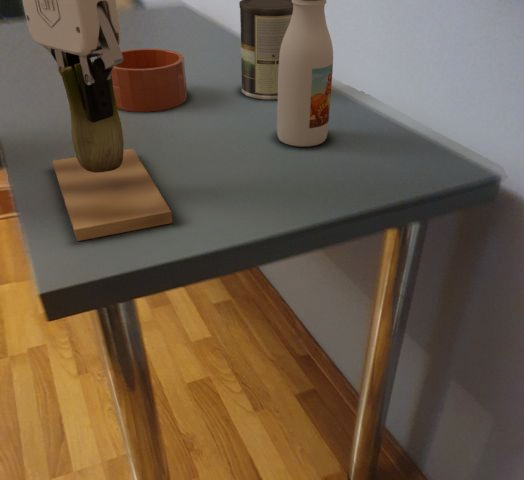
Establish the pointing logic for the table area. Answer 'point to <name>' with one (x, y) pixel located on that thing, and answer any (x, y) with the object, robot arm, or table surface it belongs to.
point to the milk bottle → (305, 76)
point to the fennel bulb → (92, 127)
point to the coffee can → (262, 45)
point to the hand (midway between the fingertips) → (92, 114)
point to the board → (110, 198)
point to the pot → (149, 80)
